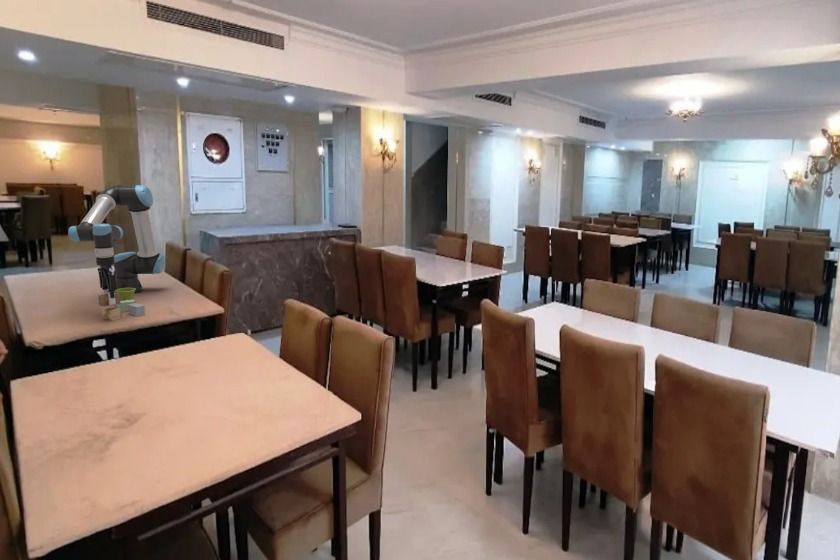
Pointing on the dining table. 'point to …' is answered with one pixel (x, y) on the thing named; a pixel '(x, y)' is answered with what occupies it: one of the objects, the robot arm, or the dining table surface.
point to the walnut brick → (105, 301)
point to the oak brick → (111, 313)
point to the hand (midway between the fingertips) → (110, 303)
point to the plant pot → (126, 293)
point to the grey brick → (136, 309)
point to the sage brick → (124, 305)
